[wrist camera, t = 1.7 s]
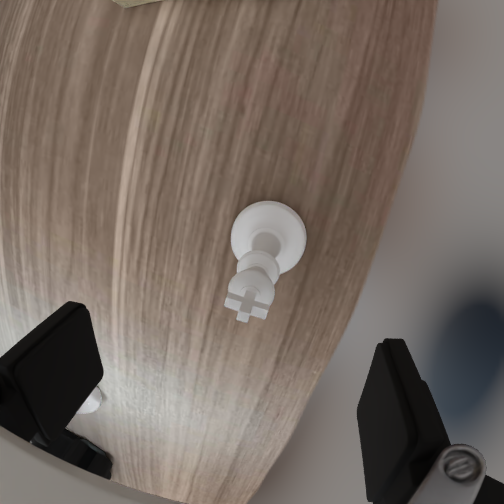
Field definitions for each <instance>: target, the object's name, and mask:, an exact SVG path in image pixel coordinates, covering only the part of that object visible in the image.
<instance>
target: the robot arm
mask: <svg viewBox="0 0 504 504" xmlns="http://www.w3.org/2000/svg"><path fill="white" fill-rule="evenodd" d="M103 373H104V371H103V366H102V363H101V359H100V355H99V351H98V347H97V343H96V339H95V335H94V331H93V326H92V322H91V317H90V313H89V311H88V309H86V306H85V305H84V304H82V303H77V302H72V301H68V302H67V303H65V304H64V305H63V306H62V307H60V308H59V309H58V310H57V311H55V312H54V313H53V314H52V315H50V316H49V317H48V318H47V319H45V320H44V321H43V322H42V323H41V324H39V325H38V326H37V327H36V328H34V329H33V330H32V331H31V332H30V333H28V334H27V335H26V336H25V337H24V338H23V339H21V340H20V341H19V342H18V343H17V344H15V345H14V346H13V347H12V348H11V349H10V350H9V351H7V352H6V353H5V354H4V355H3V356H2V357H1V358H0V504H187V503H183V502H179V501H175V500H171V499H167V498H163V497H160V496H156V495H153V494H149V493H146V492H143V491H140V490H136V489H133V488H130V487H127V486H124V485H122V484H119V483H116V482H113V481H111V480H108V479H105V478H103V477H100V476H98V475H95V474H93V473H90V472H88V471H86V470H83V469H81V468H79V467H76V466H74V465H72V464H70V463H68V462H66V461H63V460H61V459H59V458H57V457H55V456H53V455H51V454H49V453H47V452H45V451H43V450H41V449H40V448H38V447H36V446H34V445H32V442H31V440H32V438H33V437H34V438H35V440H36V441H37V442H39V443H40V444H42V445H44V446H46V447H48V446H49V445H50V444H51V442H52V441H55V440H57V438H58V437H59V436H60V434H61V433H62V432H63V430H64V429H65V427H66V426H67V425H68V423H69V422H70V421H71V419H72V418H73V417H74V415H75V414H76V413H77V411H78V410H79V409H80V407H81V406H82V404H83V403H84V402H85V400H86V399H87V398H88V397H89V395H90V394H91V393H92V391H93V390H94V389H95V387H96V386H97V385H98V383H99V382H100V381H101V379H102V377H103ZM357 420H358V427H359V434H360V442H361V449H362V458H363V466H364V475H365V484H366V495H367V500H368V502H373V504H504V484H503V483H501V482H499V481H497V480H495V479H493V478H491V477H489V476H487V475H485V474H486V469H487V467H486V461H485V459H484V457H483V455H482V454H481V453H480V452H479V451H478V450H477V449H475V448H474V447H472V446H469V445H466V444H454V445H451V444H450V441H449V438H448V435H447V433H446V430H445V428H444V425H443V422H442V419H441V417H440V414H439V412H438V409H437V407H436V404H435V402H434V399H433V397H432V395H431V392H430V390H429V387H428V385H427V384H426V382H425V381H423V380H421V377H420V375H419V373H418V370H417V368H416V366H415V363H414V361H413V359H412V357H411V354H410V352H409V350H408V348H407V346H406V343H405V341H404V340H403V339H388V338H386V339H384V341H383V343H378V344H377V347H376V350H375V353H374V357H373V360H372V364H371V367H370V370H369V374H368V376H367V380H366V383H365V386H364V389H363V392H362V395H361V398H360V401H359V404H358V407H357Z"/></svg>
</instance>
